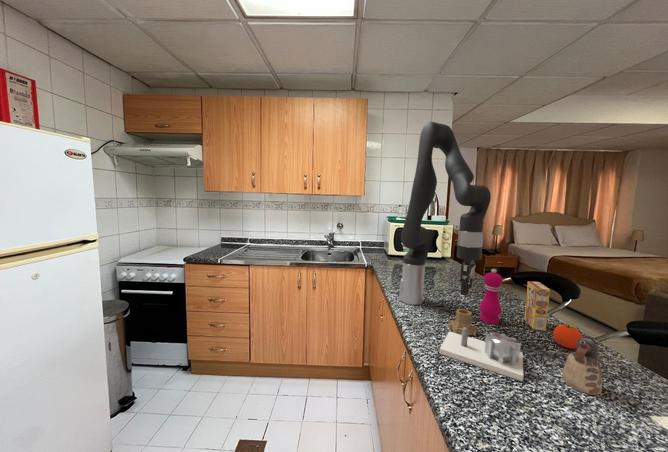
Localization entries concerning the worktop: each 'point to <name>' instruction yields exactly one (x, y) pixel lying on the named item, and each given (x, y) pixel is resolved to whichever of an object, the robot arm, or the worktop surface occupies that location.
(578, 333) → the clementine
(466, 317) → the planet gear
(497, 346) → the sun gear
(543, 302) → the candy box
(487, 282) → the pepper mill
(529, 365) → the worktop surface
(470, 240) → the robot arm
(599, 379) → the figurine
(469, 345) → the carrier plate
